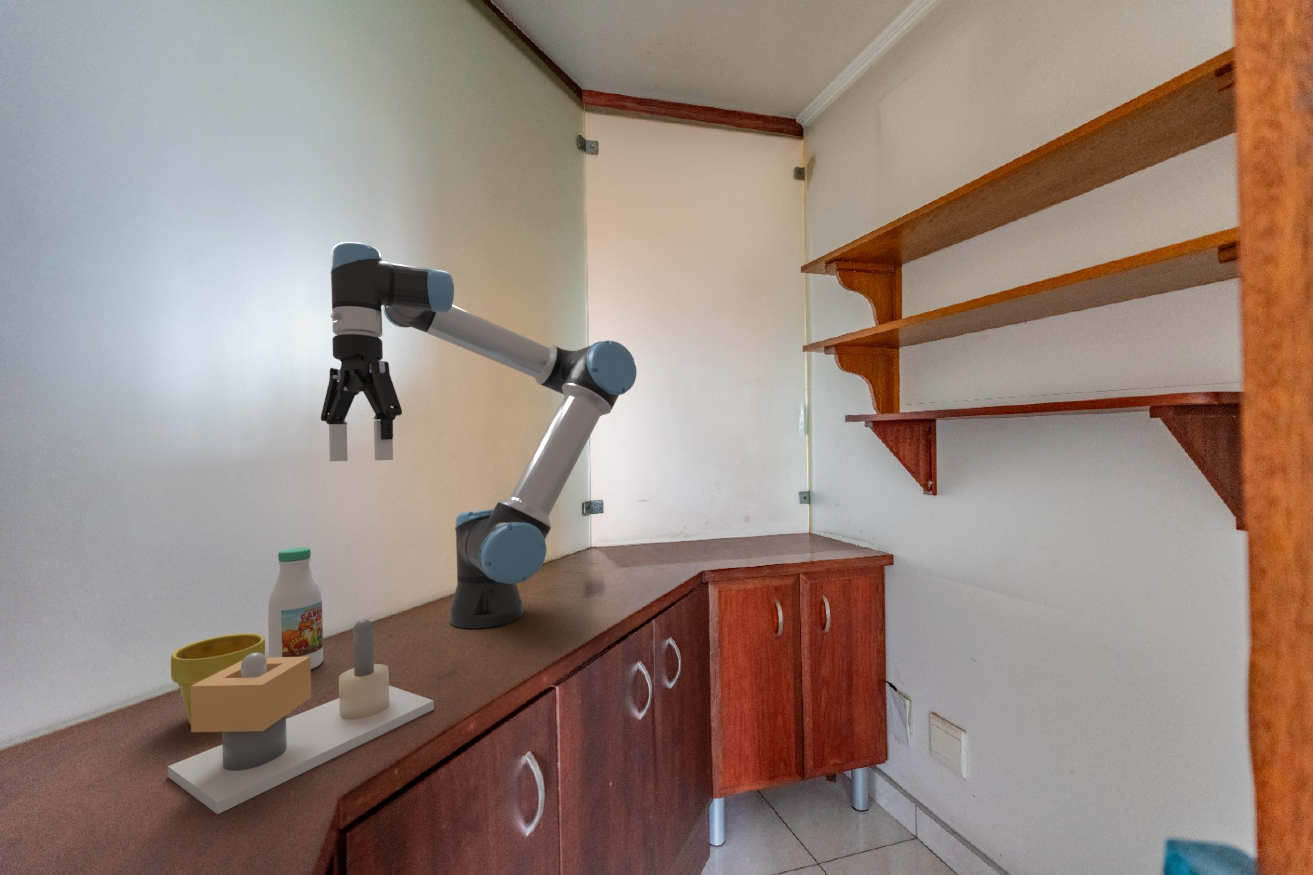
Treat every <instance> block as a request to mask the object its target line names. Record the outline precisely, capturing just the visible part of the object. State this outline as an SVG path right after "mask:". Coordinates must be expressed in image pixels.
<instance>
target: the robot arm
mask: <svg viewBox="0 0 1313 875" xmlns="http://www.w3.org/2000/svg"><path fill="white" fill-rule="evenodd" d="M330 257H331V258H330V259H331V260H330V261H331V262H330V284H331V285H330V288H331V291H330V292H331V310H332V312H331V313H330V317H331V319H332V320H331V321H332V333H333V334H335V335H334V336H333V337H332V341H331V342H332V356H333V358H334V359H336V360H339V361H340V363H341V364H340V368H339V367H331V368H330V367H329V368H330V369H329V380H328V383H327V384H328V385H327V389H326V393H325V396H324V401H323V405H322V409H321V415H320V421H322V422H325V423H326V424H327V425H328V438H329V439H328V440H329V441H328V443H329V444H328V445H329V449H328V450H329V462H348V421H346V417H347V415H348V413H349V411H350V409H351V406H352V404H353V401H354V399H355V397H356V396H357V395H359V394H360V393H362V392H363V394H364V396H365V397H366V399H367V401H368V403H369V405H370V407H371V408H372V411H373V413H374V414H375V415H374V417H373V435H374V437H373V438H374V439H373V441H374V442H373V443H374V445H373V446H374V461H393V460H394V443H393V442H394V441H393V440H394V420H395V419H396V417H397V416H401V415H402V413H403V410H402V407H401V403H400V401H399V398H398V393H397V391H396V388H395V386H394V382H393V381H392V380H393V379H392V377H391V374H390V363H389V362H388V361H384V360H383V359H384V358H383V357H384V356H383V355H384V354H383V340H382V339H381V338H380V337H382V336H383V319H382V318H383V313H384V316H385V317H386V319H387V320H388V321H389V323H391V324H392V325H394V326H395V327H399V328H405V329H406V328H413V329H416V330H418V331H422V332H424V333H426V334H429V335H431V336H434V337H436V338H438V339H440V340H443V341H445V342H447V343H450V344H453V345H455V346H458V347H459V348H462V349H465V350H467V351H469V352H472V353H474V354H477V355H479V356H481V357H484V358H487V359H489V360H491V361H494V362H496V363H499V364H501V365H503V366H505V367H509V368H510V369H513V370H514V371H515V370H516V371H518V372H520V373H522V374H525V375H527V376H530V377H533V378H534V380H535V381H536V383H537V384H538V385H541V386H543V387H545V388H547V389H549V390H552V391H555V392H557V393H558V394H561V395H563V396H564V397H563V399H562V401H561V403H560V405H559V407H558V408H557V410H556V412H555V413H554V416H553V417H552V419H551V421H550V423H549V425H548V426H547V428H546V430H545V432H544V434H543V435H542V437H541V439H540V441H539V443H538V445H537V446H536V449H535V450H534V452H533V454H532V456H531V458H530V460H529V461H528V463H527V465H526V467H525V469H524V470H523V472H522V474H521V475H520V478H519V479H518V481H517V483H516V485H515V487H514V488H513V490H512V491H511V492H512V493H511V494H510V496H509V497H507V498H504V499H501V500H498V501H497V503H496V504H495V507H494V508H492V509H482V510H474V511H465V512H460V513H459V514H457V515H456V519H455V526H454V530H455V536H456V537H455V543H456V544H455V545H456V574H457V575H456V578H457V582H456V588H455V592H454V595H453V599H452V603H451V607H450V609H449V613H448V615H449V616H448V617H449V619H448V620H449V624H450V625H451V626H453V627H457V628H460V629H461V628H462V629H481V628H482V629H484V628H491V627H493V628H494V627H498V626H501V625H506V624H510V623H512V622H514V621H516V620H519V619H520V618H522V617H523V615H524V603H523V600H522V599H521V596H520V592H519V588H518V587H517V584H519V583H522V582H525V581H527V580H529V579H531V578H532V577H533V576H534V575H535V574H536V573H538V572H539V570H540V569H541V568H542V565H543V564H544V562H545V559H546V556H547V546H546V545H547V544H546V538H547V537H548V535H549V533H550V531H551V528H552V524H551V522H550V515H551V512H552V510H553V508H554V506H555V505H556V502H557V500H558V498H559V497H560V494H562V491H563V489H564V487H565V485H566V483H567V481H568V480H569V477H570V476H571V474H572V471H573V469H574V468H575V466H576V464H577V463H578V460H579V458H580V456H581V454H582V452H583V450H584V448H585V446H586V445H587V442H588V440H589V439H590V437H591V435H592V433H593V431H594V429H595V427H596V425H597V423H598V421H599V419H600V417H602V416H604V415H605V416H606V415H607V414H611V412H612V410H613V407H614V406H615V405H616V402H617V400H618V398H619V396H620V395H625V394H626V393H627V392H628V391H629V390H631V388H632V387H633V386H634V384H635V382H636V379H637V372H638V371H637V366H636V362H635V358H634V356H633V355H632V353H631V352H630V351H629V349H628V348H627V347H626V346H624V344H621V343H620V342H619V341H614V340H604V341H601V340H600V341H597V342H594V343H593V344H591V345H589V346H586V347H582V348H580V349H577V350H569V349H564V348H561V347H558V346H556V345H549V346H545V345H543V344H541V343H539V342H537V341H534V340H532V339H530V338H528V337H525V336H523V335H521V334H518V333H516V332H515V331H512V330H510V329H508V328H505V327H503V326H500V325H499V324H496V323H495V322H494V323H493V321H492V322H491V321H490V320H488V319H485V318H483V317H481V316H478V315H476V314H473V313H472V312H470V311H467V310H465V309H462V308H460V307H458V306H456V305H454V304H453V303H454V299H455V298H454V297H455V283H454V279H453V276H452V275H451V274H450V273H449V272H447V271H445V270H440V269H435V268H433V267H429V268H428V267H422V266H416V265H414V266H413V265H408V264H400V263H393V262H388V261H383V260H382V257H381V252H380V251H379V250H378V249H377V248H376V247H375V246H372V245H367V244H365V243H363V242H362V243H361V242H355V241H354V242H353V241H344V242H340V243H337V244H335V245H334V246H333V248H331V256H330ZM382 307H383V310H382ZM382 311H383V312H382Z"/></svg>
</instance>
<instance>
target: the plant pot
mask: <svg viewBox="0 0 1313 875" xmlns="http://www.w3.org/2000/svg"><path fill="white" fill-rule="evenodd" d="M251 653H261V654H263V655H264V656H265V657H266V636H264V635H263V634H259V633H249V632H247V633H234V634H225V635H219V636H214V637H210V638H205V639H201V640H198V641H195V642H191V643H189V644H185V645H183V646H181V647H180V648H178V649H176V650H174V652H172V654H171V657H170V677H171V680H172V681H173V682H174V683H175V684H176V683H177V684H178V688H179V691H180V695H181V699H182V703H183V705H184V709H185V714H186V716H187V717H186V718H187V721H188V723H189V725H190V726H191V688H190V686H192V685H194V684H196V683H198V682H200V681H202V680H204V679H206V678H208V677H210V676H212V675H214V674H216V673H218V672H220V671H222V670H224V669H226V668H228V667H230V666H232V665H234V664H236V663H238V662H240V661H242V660H243V659H244V658H245V657H246V656H247V655H249V654H251Z"/></svg>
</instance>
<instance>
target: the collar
mask: <svg viewBox="0 0 1313 875" xmlns="http://www.w3.org/2000/svg"><path fill="white" fill-rule="evenodd" d="M242 661H243V660H242ZM242 661H240V662H238V663H236V664H234V665H232V666H230V667H228V668H226V669H224V670H222V671H220V672H218V673H216V674H214V675H212V676H210V677H208V678H206V679H204V680H202V681H200V682H198V683H196V684H194V685H192V686H190V688H191V725H190V727H191V728H190V732H191V733H216V732H217V733H220V732H221V733H222V732H238V731H264V730H265V729H267V728H268V727H269V726H271V725H272V724H274V723H275V722H277V721H278V720H280V719H281V718H282V717H284V716H285V715H286V716H287V715H289V714H290V713H291V712H292V711H293V712H294V710H296V709H297V708H298V707H300V706H302V705H303V704H304V703H305V702H308V701H309V700H310V699H311V698H312V674H311V673H312V671H311V670H312V669H311V659H310V657H269V656H268V657H266V661H267V673H265V674H263V675H261V676H260V677H254V678H241V663H242Z"/></svg>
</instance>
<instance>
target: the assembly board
mask: <svg viewBox="0 0 1313 875" xmlns="http://www.w3.org/2000/svg"><path fill="white" fill-rule="evenodd" d="M352 632H353V633H352V634H353V635H352V637H353V639H352V640H353V668H349V669H347V670H345V671H344V672H343V673H341V674H339V676H338V695H339V696H338V698H336V699H332V700H331V701H328V702H325V703H322V704H321V705H318V706H316V707H313V708H310V709H309V710H305V711H302V712H300V713H298V714H296V715H292V716H291V717H288V718H287V715H285V716H284V717H282V718H281V719H280V720H278V721H277V722H275V723H274V724H272V725H271V726H269V727H268V728H267V729H265V730H264V731H238V732H221V740H222V741H221V744H220V745H218V746H215V747H213V748H210V749H207V750H205V751H203V752H199V753H197V754H195V755H192V756H191V757H187V758H185V759H182V760H180V761H177V762H175V763H172V764H170V765H168V766H167V778H168V779H170V780H172V782H174V783H175V784H177V785H178V786H179V787H180V788H182V789H183V790H184V791H186V792H187V793H189V794H190V795H191V796H192V797H194V798H195V799H197V801H199V802H201V804H203V805H205V806H206V807H207V808H208V809H209V810H211V811H212V812H214V813H215V814H217V815H220V814H221V813H223V812H225V811H228V810H230V809H231V808H234V807H235V806H239V805H240V804H242V803H244V802H246V801H249V800H250V799H252V798H254V797H256V796H258V795H261V794H262V793H265V792H267V791H269V790H270V789H273V788H275V787H277V786H279V785H281V784H283V783H285V782H287V781H290V780H291V779H294V778H296V777H298V776H299V775H302V774H304V773H306V772H307V771H310V770H312V769H314V768H315V767H316V768H317V767H319V766H320V765H322V764H325V763H326V762H328V761H330V760H332V759H335V758H336V757H339V756H341V755H342V754H345V753H347V752H348V751H351V750H352V749H355V748H357V747H359V746H362V745H363V744H366V743H368V742H369V741H372V740H374V739H376V738H379V736H382V735H384V734H386V733H388V732H390V731H392V730H395V729H396V728H398V727H401V726H403V725H404V724H407V723H408V722H411V721H413V720H415V719H417V718H419V717H421V716H423V715H425V714H427V713H430V712H431V711H433V710H435V709H434V708H435V701H434V700H433V699H431V698H427V697H424V696H421V695H419V694H415V693H412V692H409V691H406V690H403V689H401V688H397V687H396V686H393V685H390V671H389V669H390V668H389V666H388V665H386V664H382V663H375V657H374V656H375V655H374V654H375V651H374V649H375V648H374V646H375V645H374V624H373V622H372V621H371V620H370V619H365V618H364V619H360V620H358V621H356V623H355V624H354V626H353V627H352ZM266 658H267V657H266V655H265V656H264V655H263V654H261V653H251V654H249V655H247V656H246V657H245V658H244V659H243V661H242V663H241V678H254V677H260V676H261V675H263V674H265V673H267V661H266Z"/></svg>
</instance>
